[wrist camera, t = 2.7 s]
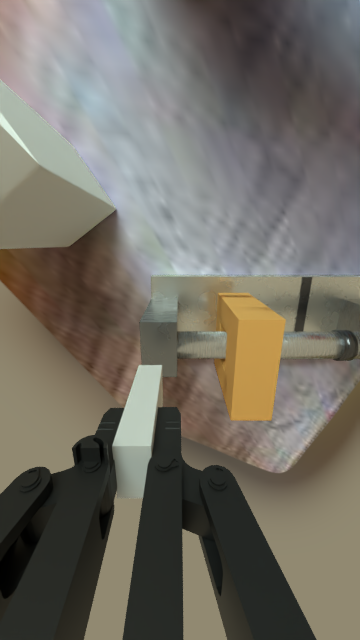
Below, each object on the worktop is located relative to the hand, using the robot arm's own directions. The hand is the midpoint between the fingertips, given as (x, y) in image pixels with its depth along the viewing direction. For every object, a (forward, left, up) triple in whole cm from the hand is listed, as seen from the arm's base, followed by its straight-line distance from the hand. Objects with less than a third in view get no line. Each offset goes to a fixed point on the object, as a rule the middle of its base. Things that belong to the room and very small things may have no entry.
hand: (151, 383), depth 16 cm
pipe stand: (0, +11, -15) cm, 18 cm away
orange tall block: (0, +7, -10) cm, 12 cm away
